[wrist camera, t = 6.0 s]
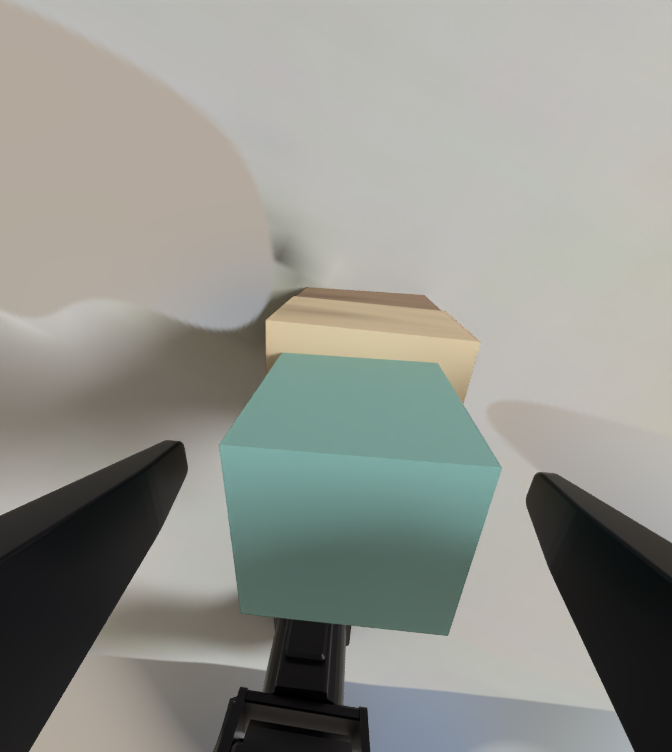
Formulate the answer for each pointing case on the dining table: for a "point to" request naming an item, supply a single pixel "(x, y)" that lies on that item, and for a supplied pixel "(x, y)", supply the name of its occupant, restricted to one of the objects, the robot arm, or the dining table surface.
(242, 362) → the dining table surface
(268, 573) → the teal cube
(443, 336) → the tower top
